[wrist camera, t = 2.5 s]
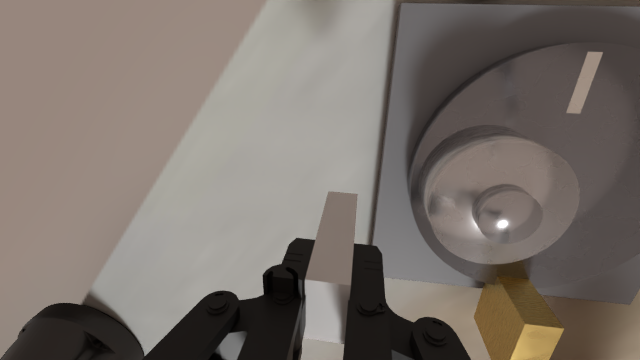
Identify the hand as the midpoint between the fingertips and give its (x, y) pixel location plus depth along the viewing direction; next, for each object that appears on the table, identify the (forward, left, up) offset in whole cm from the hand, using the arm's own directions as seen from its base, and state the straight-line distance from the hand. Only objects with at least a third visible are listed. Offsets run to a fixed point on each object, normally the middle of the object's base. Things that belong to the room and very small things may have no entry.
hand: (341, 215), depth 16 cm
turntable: (+14, -3, -8) cm, 16 cm away
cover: (+9, 0, -7) cm, 11 cm away
